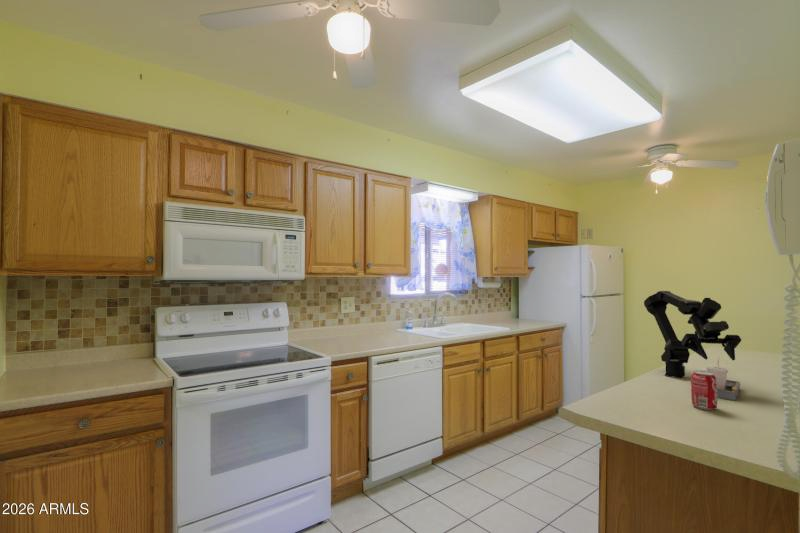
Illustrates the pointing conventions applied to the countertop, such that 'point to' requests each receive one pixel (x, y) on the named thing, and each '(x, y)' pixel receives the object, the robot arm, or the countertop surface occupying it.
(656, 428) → the countertop surface
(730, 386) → the frame
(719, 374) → the white cup
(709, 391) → the soda can
